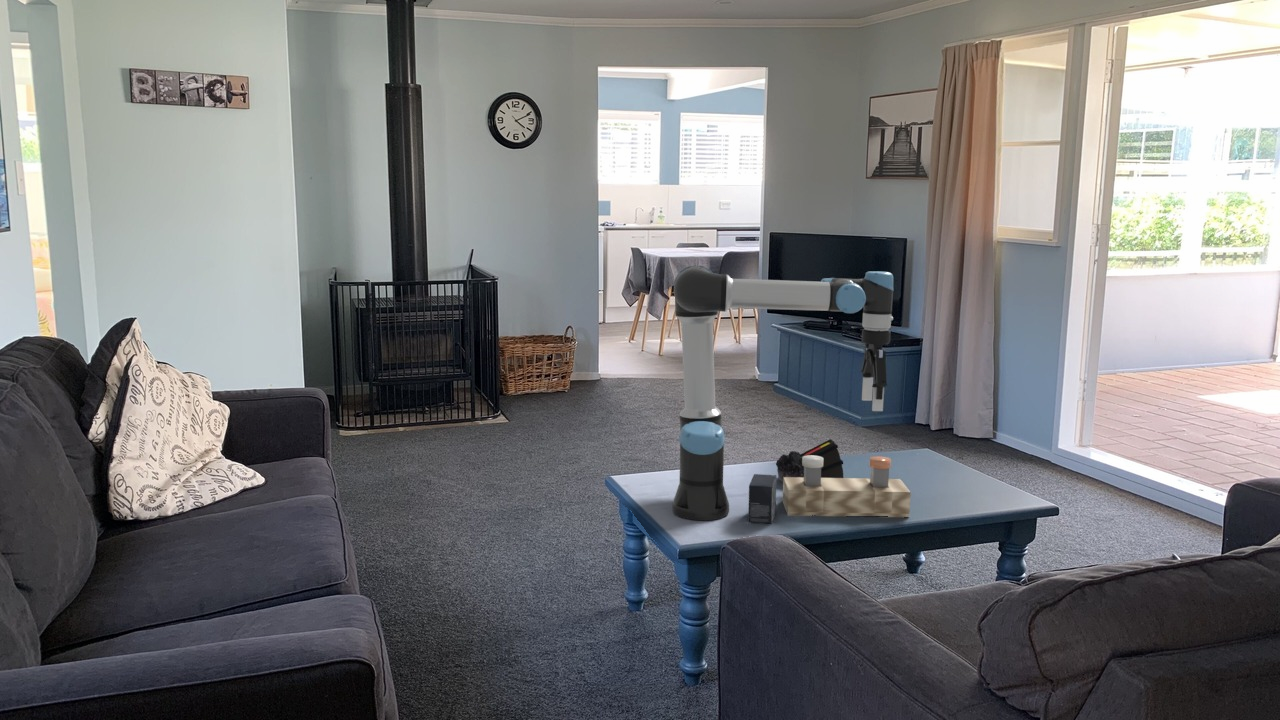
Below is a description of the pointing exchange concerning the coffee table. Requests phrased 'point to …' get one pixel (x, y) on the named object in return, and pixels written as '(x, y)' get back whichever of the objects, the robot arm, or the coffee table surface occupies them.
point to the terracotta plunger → (879, 471)
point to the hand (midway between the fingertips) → (871, 405)
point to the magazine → (827, 459)
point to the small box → (762, 499)
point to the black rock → (789, 466)
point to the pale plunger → (812, 470)
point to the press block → (845, 498)
